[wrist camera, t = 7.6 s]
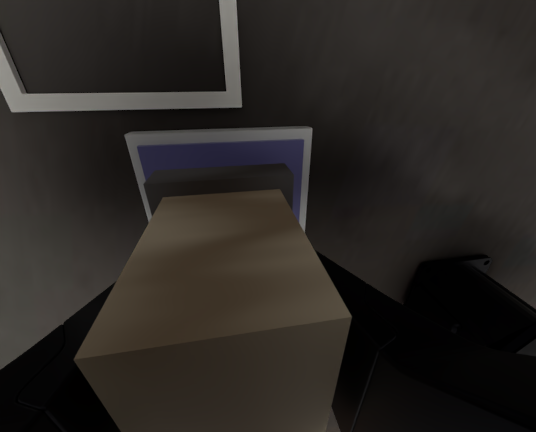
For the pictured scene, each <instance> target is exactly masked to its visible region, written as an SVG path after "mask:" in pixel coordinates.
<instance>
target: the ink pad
mask: <svg viewBox="0 0 536 432" xmlns="http://www.w3.org/2000/svg"><path fill="white" fill-rule="evenodd" d="M312 129H313V128H311V127H309V126H288V127H257V128H227V129H196V130H165V131H135V132H129V133H127V134H125V135H124V136H125V139H126V143H127V147H128V150H129V154H130V157H131V161H132V164H133V168H134V171H135V175H136V179H137V182H138V186H139V189H140V193H141V196H142V200H143V204H144V207H145V211H146V214H147V218H148V221H149V222H150V220H151V218H152V215H151V211H150V207H149V204H148V200H147V196H146V193H145V189H144V185H143V184H144V183H145V182H146V180H147V179H148V178H149V177H150V176H151V174H152V173H153V172H154V171H155V170H170V169H188V168H206V167H224V166H242V165H260V164H278V163H285V164H286V166H287V167H288V168H289V169H290V170H291V172H292V173H293V174H294V187H293V210H292V211H293V213H294V215H295V217H296V218H297V220H298V222H299V224H300V226H301V227H302V229H303V231H304V233H305V222H306V209H307V195H308V182H309V169H310V156H311V143H312Z"/></svg>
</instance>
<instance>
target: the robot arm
mask: <svg viewBox="0 0 536 432" xmlns="http://www.w3.org/2000/svg"><path fill="white" fill-rule="evenodd" d="M315 252H316V254H317V256H318V258H319V259H320V261H321V263H322V265H323V266H324V268H325V270H326V272H327V273H328V275H329V277H330V279H331V281H332V282H333V284H334V286H335V288H336V289H337V291H338V293H339V295H340V297H341V298H342V300H343V302H344V304H345V305H346V307H347V309H348V311H349V313H350V314H351V316H352V319H351V323H350V327H349V332H348V336H347V340H346V345H345V349H344V353H343V358H342V362H341V366H340V371H339V375H338V380H337V384H336V388H335V393H334V397H333V401H332V406H331V407H332V409H333V412H334V415H335V418H336V420H337V423H338V426H339V429H340V431H341V432H536V309H534V308H533V307H532V306H530V305H529V304H527V303H526V302H525V301H523V300H522V299H520V298H519V297H518V296H516V295H515V294H513V293H512V292H510V291H509V290H508V289H506V288H505V287H503V286H502V285H501V284H499V283H498V282H496V281H495V280H494V279H492V278H491V277H489V276H488V275H486V272H487V270H488V268H489V266H490V265H491V263H492V258H490V257H488V256H487V255H481V256H473V257H465V258H457V259H449V260H441V261H433V262H426V263H423V264H422V265H421V266H420V267H419V269H418V272H417V275H416V277H415V280H414V283H413V286H412V288H411V291H410V294H409V296H408V299H407V302H406V304H405V306H404V305H402V304H400V303H398V302H397V301H395V300H393V299H391V298H390V297H388V296H387V295H385V294H383V293H382V292H380V291H378V290H377V289H375V288H374V287H372V286H371V285H369V284H366V282H364V281H363V280H361V279H360V278H358V277H356V276H355V275H353V274H352V273H350V272H349V271H347V270H345V269H344V268H342V267H341V266H339V265H338V264H336V263H335V262H333V261H331V260H330V259H328V258H327V257H325V256H324V255H322V254H321V253H319V252H317V251H316V250H315ZM116 282H117V281H116ZM116 282H115V283H116ZM115 283H113V284H112V285H111V286H110V287H108V288H107V289H106V290H105V291H103V292H102V293H101V294H99V295H98V296H97V297H96V298H94V299H93V300H92V301H90V302H89V303H88V304H87V305H85V306H84V307H83V308H81V309H80V310H79V311H78V312H76V313H75V314H74V315H73V316H71V317H70V318H69V319H67V320H66V321H65V322H64V323H63V325H60V326H58V327H57V328H56V329H55V330H53V331H52V332H51V333H49V334H48V335H47V336H46V337H44V338H43V339H42V340H40V341H39V342H38V343H36V344H35V345H34V346H32V347H31V348H30V349H28V350H27V351H26V352H24V353H23V354H22V355H20V356H19V357H18V358H16V359H15V360H13V361H12V362H11V363H9V364H8V365H6V366H5V367H4V368H2V369H1V370H0V432H121V431H120V429H119V428H118V426H117V425H116V423H115V422H114V420H113V419H112V417H111V416H110V414H109V413H108V411H107V410H106V408H105V407H104V405H103V404H102V402H101V401H100V399H99V398H98V396H97V395H96V393H95V392H94V390H93V389H92V387H91V386H90V384H89V382H88V381H87V379H86V378H85V376H84V375H83V373H82V372H81V370H80V369H79V367H78V366H77V364H76V363H75V361H74V358H75V356H76V354H77V352H78V351H79V349H80V347H81V345H82V343H83V342H84V340H85V338H86V336H87V334H88V332H89V331H90V329H91V327H92V325H93V323H94V322H95V320H96V318H97V316H98V314H99V312H100V311H101V309H102V307H103V305H104V303H105V302H106V300H107V298H108V296H109V294H110V292H111V291H112V289H113V287H114V285H115Z"/></svg>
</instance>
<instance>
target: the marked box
mask: <svg viewBox="0 0 536 432" xmlns="http://www.w3.org/2000/svg"><path fill="white" fill-rule="evenodd" d="M219 6H220V19H221V31H222V44H223V56H224V68H225V81H226V92H141V93H52V94H27V93H26V90H25V88H24V86H23V84H22V81H21V79H20V77H19V74H18V72H17V70H16V67H15V65H14V63H13V60H12V58H11V56H10V53H9V51H8V49H7V46H6V44H5V42H4V39H3V37H2V35H1V33H0V89H1V91H2V93H3V95H4V97H5V99H6V101H7V103H8V106H9V108H10V110H11V112H46V111H94V110H143V109H191V108H240V107H242V97H241V79H240V60H239V42H238V24H237V5H236V0H219Z"/></svg>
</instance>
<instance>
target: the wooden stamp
mask: <svg viewBox="0 0 536 432" xmlns="http://www.w3.org/2000/svg"><path fill="white" fill-rule="evenodd" d="M143 185H144V189H145V193H146V196H147V200H148V204H149V207H150V211H151V215H152V218H151V220H150V222H149V223H148V225H147V227H146V229H145V231H144V233H143V234H142V236H141V238H140V240H139V242H138V243H137V245H136V247H135V249H134V251H133V253H132V254H131V256H130V258H129V260H128V262H127V263H126V265H125V267H124V269H123V271H122V273H121V274H120V276H119V278H118V280H117V282H116V283H115V285H114V287H113V289H112V291H111V292H110V294H109V296H108V298H107V300H106V302H105V303H104V305H103V307H102V309H101V311H100V312H99V314H98V316H97V318H96V320H95V322H94V323H93V325H92V327H91V329H90V331H89V332H88V334H87V336H86V338H85V340H84V342H83V343H82V345H81V347H80V349H79V351H78V352H77V354H76V356H75V358H74V361H75V363H76V364H77V366H78V367H79V369H80V370H81V372H82V373H83V375H84V376H85V378H86V379H87V381H88V382H89V384H90V386H91V387H92V389H93V390H94V392H95V393H96V395H97V396H98V398H99V399H100V401H101V402H102V404H103V405H104V407H105V408H106V410H107V411H108V413H109V414H110V416H111V417H112V419H113V420H114V422H115V423H116V425H117V426H118V428H119V429H120V431H121V432H326V427H327V423H328V419H329V414H330V410H331V406H332V401H333V397H334V393H335V388H336V384H337V380H338V375H339V371H340V366H341V362H342V358H343V353H344V349H345V345H346V340H347V336H348V332H349V327H350V323H351V319H352V316H351V314H350V313H349V311H348V309H347V307H346V305H345V304H344V302H343V300H342V298H341V297H340V295H339V293H338V291H337V289H336V288H335V286H334V284H333V282H332V281H331V279H330V277H329V275H328V273H327V272H326V270H325V268H324V266H323V265H322V263H321V261H320V259H319V258H318V256H317V254H316V252H315V250H314V249H313V247H312V245H311V243H310V242H309V240H308V238H307V236H306V234H305V233H304V231H303V229H302V227H301V226H300V224H299V222H298V220H297V218H296V217H295V215H294V213H293V211H292V210H293V187H294V174H293V173H292V172H291V170H290V169H289V168H288V167H287V166H286V164H285V163H278V164H260V165H242V166H224V167H206V168H188V169H170V170H155V171H154V172H153V173H152V174H151V176H150V177H149V178H148V179H147V180H146V182H145V183H144V184H143Z"/></svg>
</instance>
